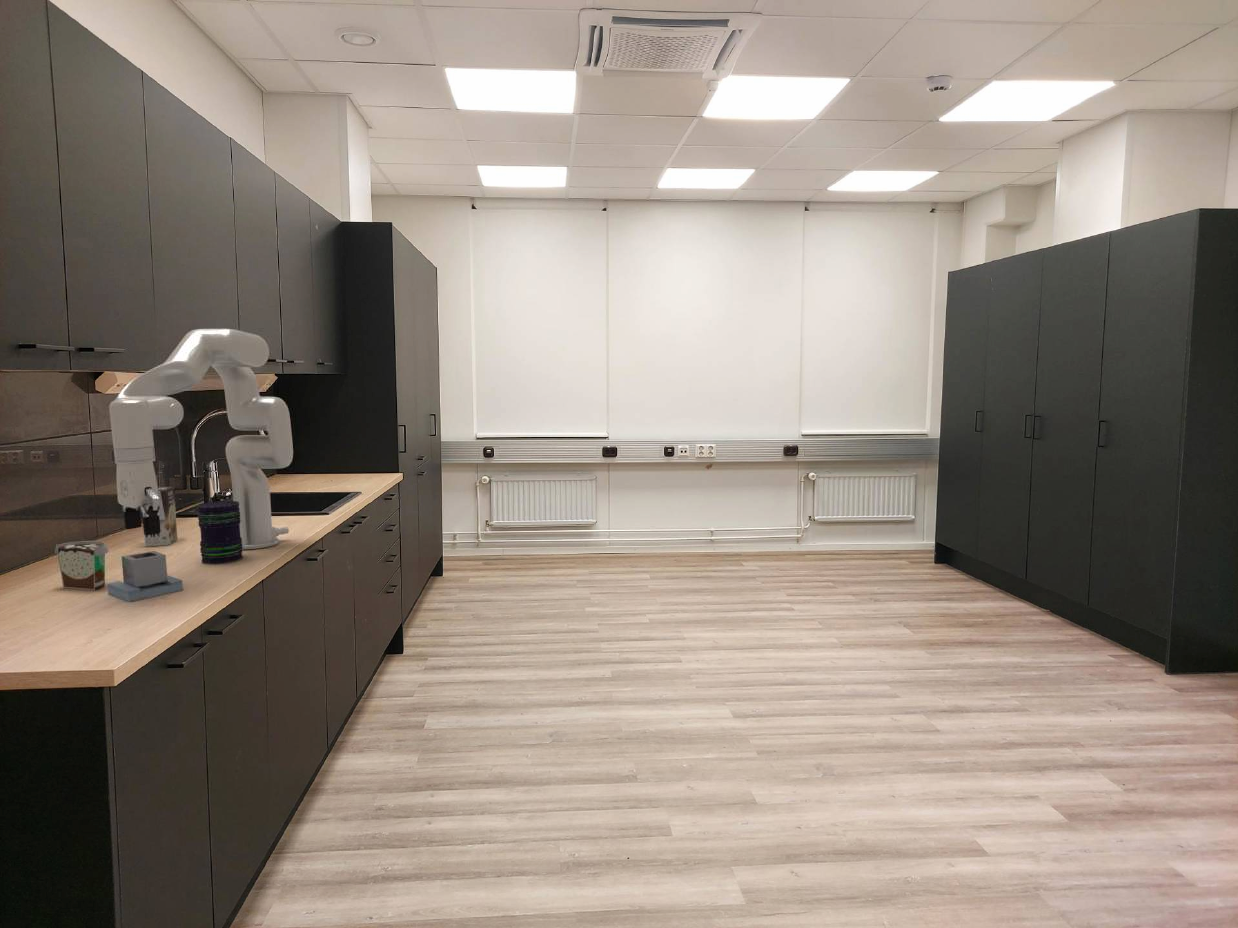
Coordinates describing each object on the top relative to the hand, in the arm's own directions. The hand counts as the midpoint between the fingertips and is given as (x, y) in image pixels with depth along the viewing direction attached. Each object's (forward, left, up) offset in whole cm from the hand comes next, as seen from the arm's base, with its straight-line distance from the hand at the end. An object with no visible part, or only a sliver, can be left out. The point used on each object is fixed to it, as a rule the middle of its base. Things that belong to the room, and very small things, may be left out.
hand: (142, 531), depth 168 cm
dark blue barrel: (-24, -16, -14) cm, 32 cm away
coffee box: (-24, -52, -14) cm, 59 cm away
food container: (+6, -16, -14) cm, 22 cm away
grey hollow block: (0, +1, -11) cm, 11 cm away
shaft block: (+1, 0, -14) cm, 14 cm away
